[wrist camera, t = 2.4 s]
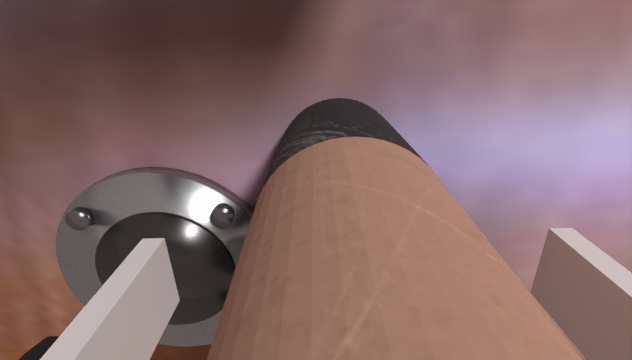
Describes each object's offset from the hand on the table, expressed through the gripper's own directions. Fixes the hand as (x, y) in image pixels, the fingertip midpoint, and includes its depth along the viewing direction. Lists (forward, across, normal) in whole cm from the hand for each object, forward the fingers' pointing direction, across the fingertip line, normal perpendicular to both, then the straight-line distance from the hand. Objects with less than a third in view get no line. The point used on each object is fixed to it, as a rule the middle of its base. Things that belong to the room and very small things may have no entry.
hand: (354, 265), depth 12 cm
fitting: (+10, -9, -7) cm, 16 cm away
